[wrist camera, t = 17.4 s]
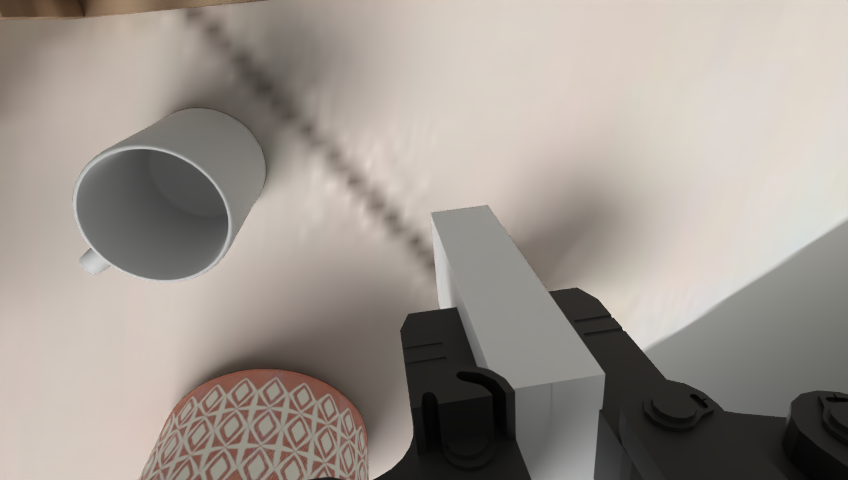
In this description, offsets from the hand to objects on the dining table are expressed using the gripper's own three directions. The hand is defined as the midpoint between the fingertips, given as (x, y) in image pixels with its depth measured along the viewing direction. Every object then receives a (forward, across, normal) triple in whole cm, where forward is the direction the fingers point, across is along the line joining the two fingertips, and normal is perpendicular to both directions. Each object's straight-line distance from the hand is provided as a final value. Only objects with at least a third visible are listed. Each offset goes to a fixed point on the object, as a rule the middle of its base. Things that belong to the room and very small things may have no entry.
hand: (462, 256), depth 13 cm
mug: (+27, -16, -4) cm, 31 cm away
